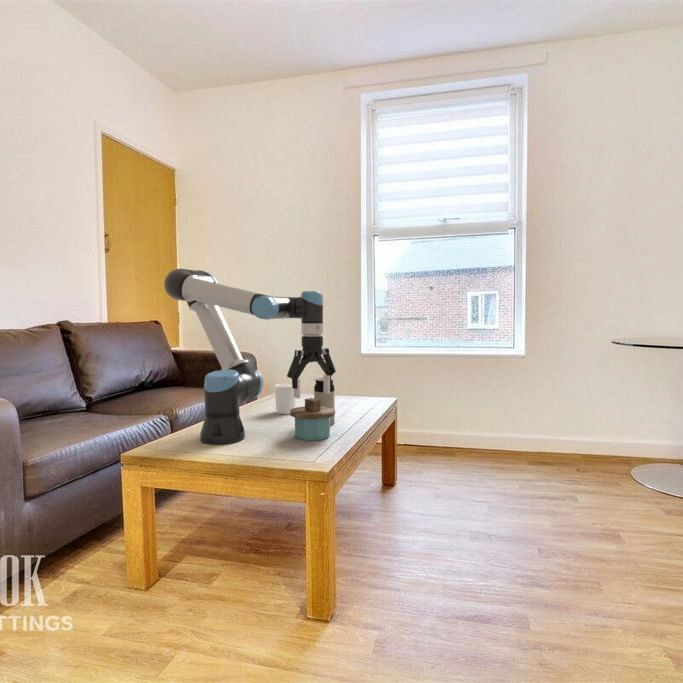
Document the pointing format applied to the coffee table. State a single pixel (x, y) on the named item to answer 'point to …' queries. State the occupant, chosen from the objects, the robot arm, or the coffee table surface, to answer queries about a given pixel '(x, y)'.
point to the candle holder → (284, 398)
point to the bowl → (312, 429)
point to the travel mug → (325, 395)
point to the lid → (312, 410)
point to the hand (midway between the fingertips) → (312, 395)
